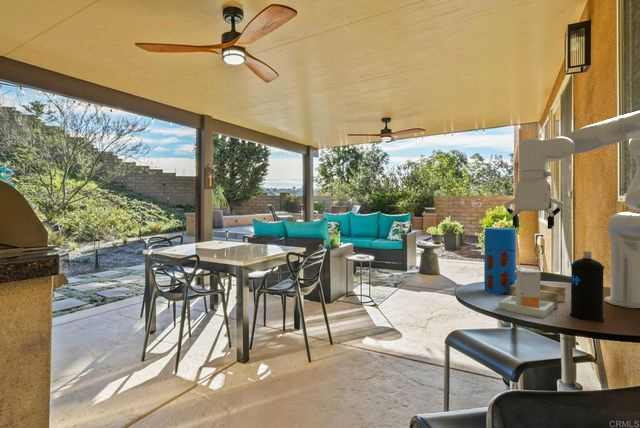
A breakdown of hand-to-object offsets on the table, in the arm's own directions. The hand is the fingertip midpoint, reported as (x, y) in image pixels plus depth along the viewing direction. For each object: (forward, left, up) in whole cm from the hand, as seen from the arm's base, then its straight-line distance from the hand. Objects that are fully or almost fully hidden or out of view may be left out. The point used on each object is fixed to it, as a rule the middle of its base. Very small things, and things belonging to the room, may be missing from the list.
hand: (532, 228), depth 115 cm
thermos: (+15, -14, -27) cm, 33 cm away
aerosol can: (-15, +1, -27) cm, 30 cm away
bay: (+1, -10, -26) cm, 28 cm away
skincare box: (0, +4, -26) cm, 26 cm away
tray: (+1, +4, -26) cm, 27 cm away
